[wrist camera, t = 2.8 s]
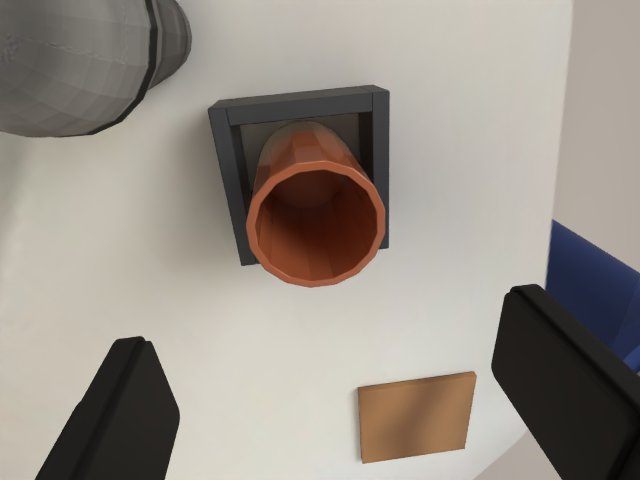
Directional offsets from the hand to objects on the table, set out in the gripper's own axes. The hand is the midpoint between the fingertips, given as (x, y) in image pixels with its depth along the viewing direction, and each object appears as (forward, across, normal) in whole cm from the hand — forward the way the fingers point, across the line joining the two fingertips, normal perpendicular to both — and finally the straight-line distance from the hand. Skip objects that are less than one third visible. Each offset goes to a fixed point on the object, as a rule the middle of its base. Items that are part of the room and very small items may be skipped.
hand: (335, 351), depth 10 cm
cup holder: (+18, 0, 0) cm, 18 cm away
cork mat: (+18, -9, +29) cm, 35 cm away
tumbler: (+18, 0, 0) cm, 18 cm away
